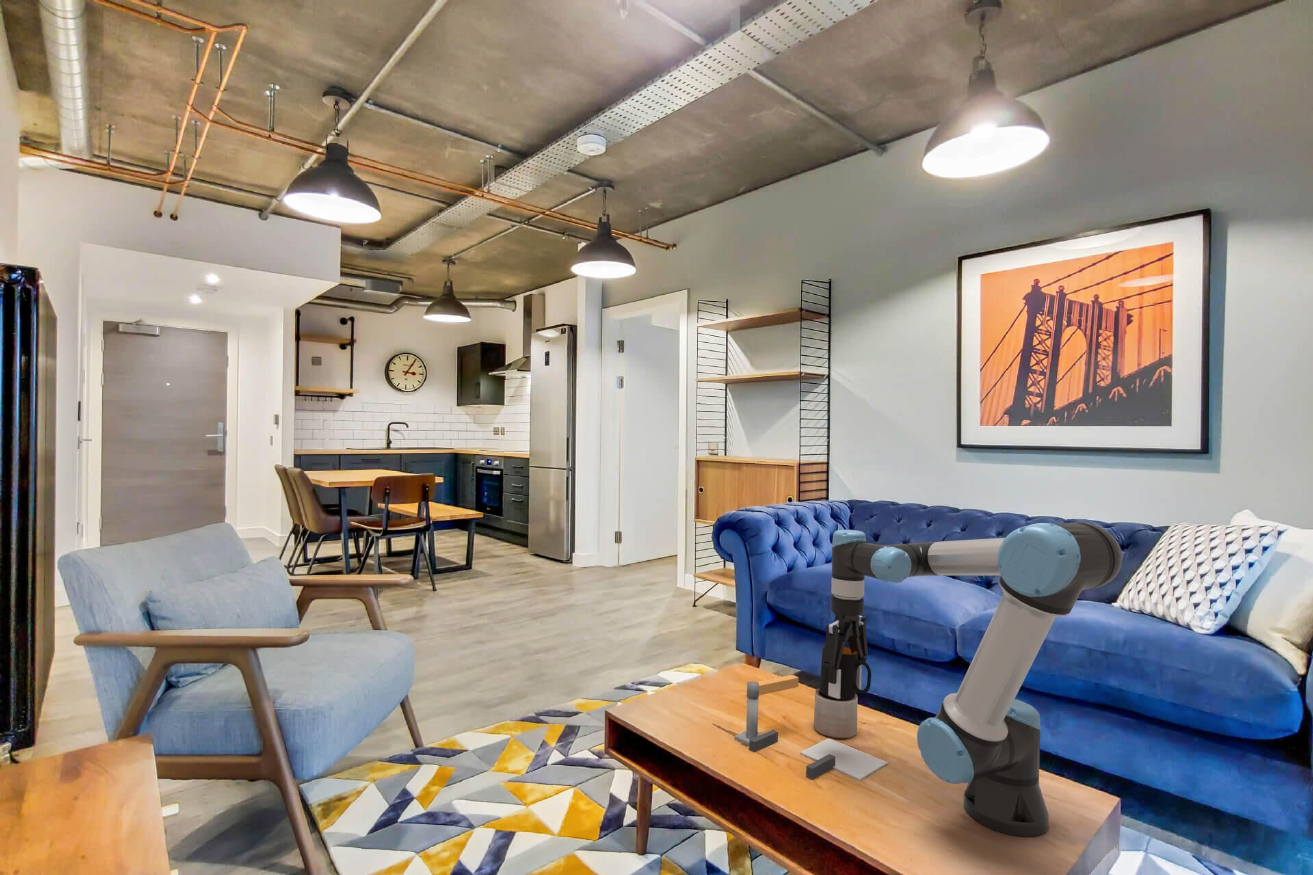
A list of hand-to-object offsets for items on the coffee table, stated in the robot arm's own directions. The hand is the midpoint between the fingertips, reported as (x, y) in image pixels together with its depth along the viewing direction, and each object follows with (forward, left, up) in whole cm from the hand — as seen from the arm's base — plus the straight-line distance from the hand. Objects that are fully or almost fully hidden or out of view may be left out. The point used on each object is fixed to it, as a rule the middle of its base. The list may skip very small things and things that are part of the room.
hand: (844, 692), depth 154 cm
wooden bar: (+19, +3, -5) cm, 20 cm away
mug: (0, 0, -1) cm, 1 cm away
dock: (+11, +10, -16) cm, 21 cm away
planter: (+10, -12, -16) cm, 22 cm away
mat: (0, 0, -16) cm, 16 cm away
